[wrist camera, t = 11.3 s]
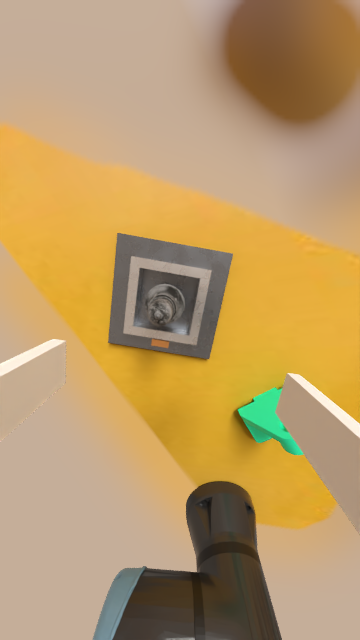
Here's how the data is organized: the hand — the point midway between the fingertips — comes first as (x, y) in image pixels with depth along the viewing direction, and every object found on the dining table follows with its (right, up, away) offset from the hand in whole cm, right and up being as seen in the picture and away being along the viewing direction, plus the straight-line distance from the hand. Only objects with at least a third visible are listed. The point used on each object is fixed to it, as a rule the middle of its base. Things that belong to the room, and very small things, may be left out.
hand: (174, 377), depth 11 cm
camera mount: (+18, -14, +26) cm, 34 cm away
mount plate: (-2, +7, +20) cm, 22 cm away
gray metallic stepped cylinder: (-2, +7, +20) cm, 21 cm away
